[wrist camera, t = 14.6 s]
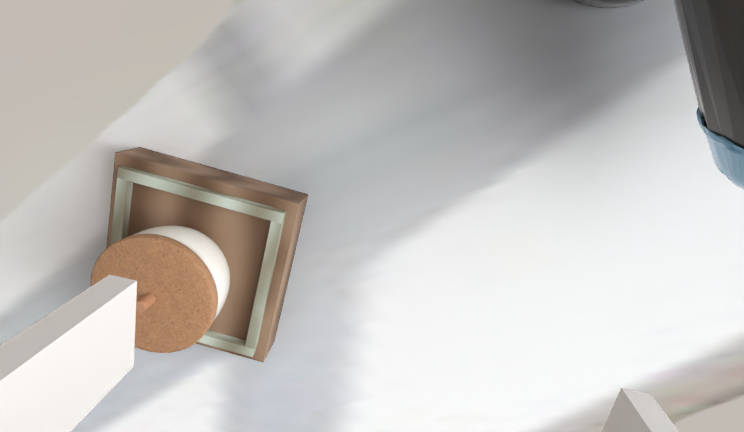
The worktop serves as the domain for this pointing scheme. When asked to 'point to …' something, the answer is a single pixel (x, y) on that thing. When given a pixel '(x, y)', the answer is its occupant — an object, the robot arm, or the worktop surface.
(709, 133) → the robot arm
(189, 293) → the lidded jar
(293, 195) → the tray
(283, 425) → the worktop surface
